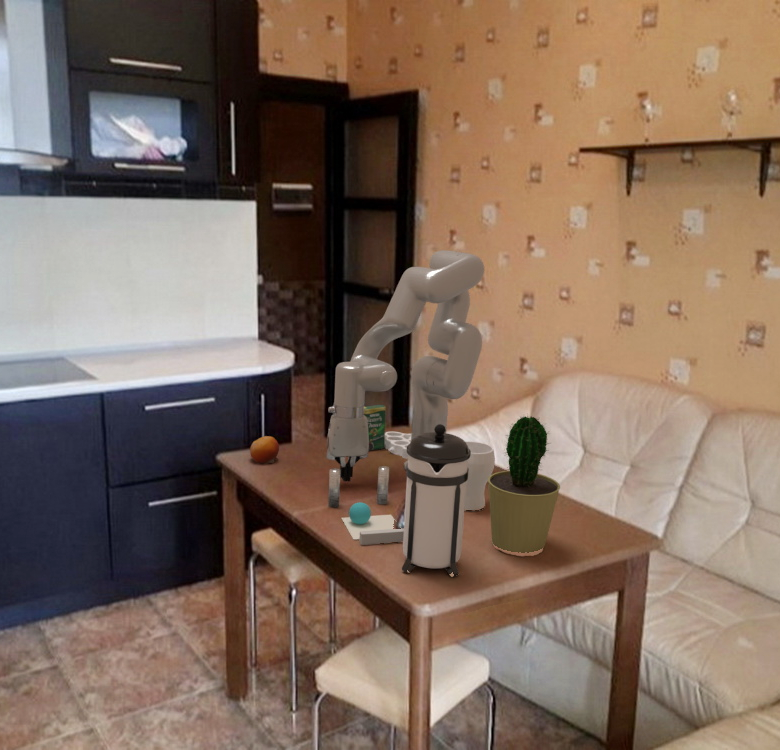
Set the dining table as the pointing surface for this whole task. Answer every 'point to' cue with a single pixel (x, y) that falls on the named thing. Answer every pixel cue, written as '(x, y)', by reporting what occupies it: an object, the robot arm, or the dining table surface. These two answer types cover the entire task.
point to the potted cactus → (522, 491)
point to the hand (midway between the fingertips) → (346, 479)
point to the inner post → (382, 485)
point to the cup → (478, 474)
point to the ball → (359, 513)
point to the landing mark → (369, 525)
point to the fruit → (264, 450)
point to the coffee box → (376, 426)
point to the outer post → (334, 487)
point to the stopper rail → (381, 536)
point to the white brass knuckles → (397, 443)
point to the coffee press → (435, 500)
